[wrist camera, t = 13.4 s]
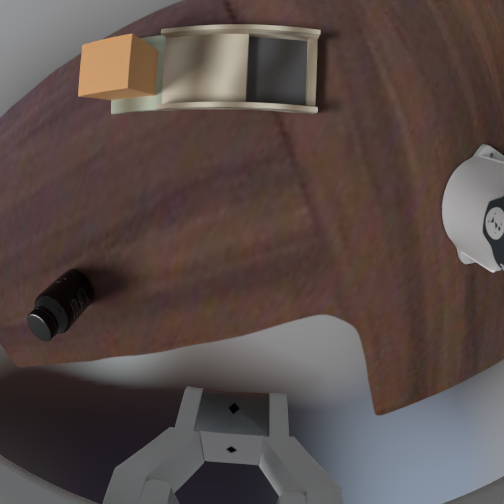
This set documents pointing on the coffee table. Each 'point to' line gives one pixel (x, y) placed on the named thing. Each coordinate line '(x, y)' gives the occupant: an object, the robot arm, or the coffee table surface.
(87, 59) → the orange block
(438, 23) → the coffee table surface
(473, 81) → the coffee table surface
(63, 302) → the supplement bottle
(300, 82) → the chute
